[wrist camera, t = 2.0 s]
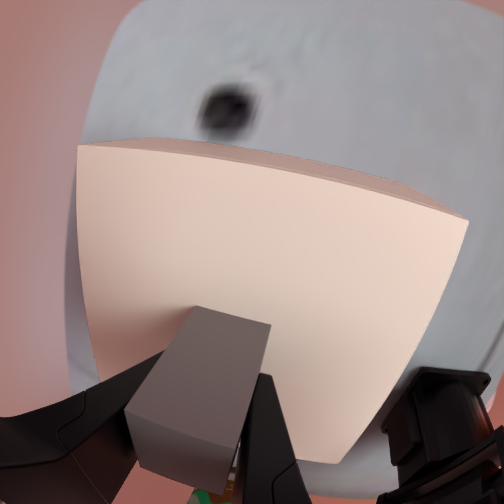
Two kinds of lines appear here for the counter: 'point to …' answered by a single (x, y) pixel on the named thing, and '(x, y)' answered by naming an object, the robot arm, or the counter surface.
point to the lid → (251, 298)
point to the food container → (203, 500)
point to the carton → (283, 165)
